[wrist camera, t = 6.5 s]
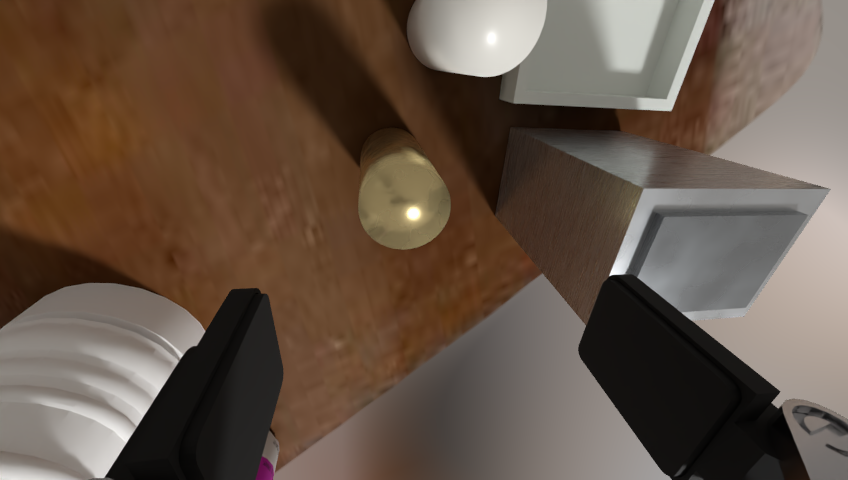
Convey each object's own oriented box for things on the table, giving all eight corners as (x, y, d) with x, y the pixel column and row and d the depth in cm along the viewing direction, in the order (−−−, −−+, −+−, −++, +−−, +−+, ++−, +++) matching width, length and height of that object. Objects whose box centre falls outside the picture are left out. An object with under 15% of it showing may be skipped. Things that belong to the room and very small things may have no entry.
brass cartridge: (359, 126, 22) (356, 162, 14) (424, 128, 23) (454, 164, 15) (361, 188, 24) (359, 250, 16) (420, 188, 25) (446, 248, 17)
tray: (535, -138, 17) (560, -166, 15) (718, -105, 19) (763, -126, 17) (499, 99, 22) (513, 103, 20) (643, 106, 24) (671, 111, 22)
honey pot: (107, 411, 30) (-163, 779, 15) (-21, 312, 24) (-731, 777, 8) (240, 370, 31) (111, 692, 15) (149, 261, 24) (-242, 626, 9)
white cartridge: (408, -19, 19) (438, -75, 11) (481, -11, 19) (560, -58, 12) (405, 68, 21) (429, 73, 13) (472, 72, 21) (533, 80, 14)
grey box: (510, 126, 24) (652, 192, 12) (621, 131, 25) (842, 192, 13) (494, 220, 27) (591, 340, 15) (592, 218, 29) (747, 327, 17)
